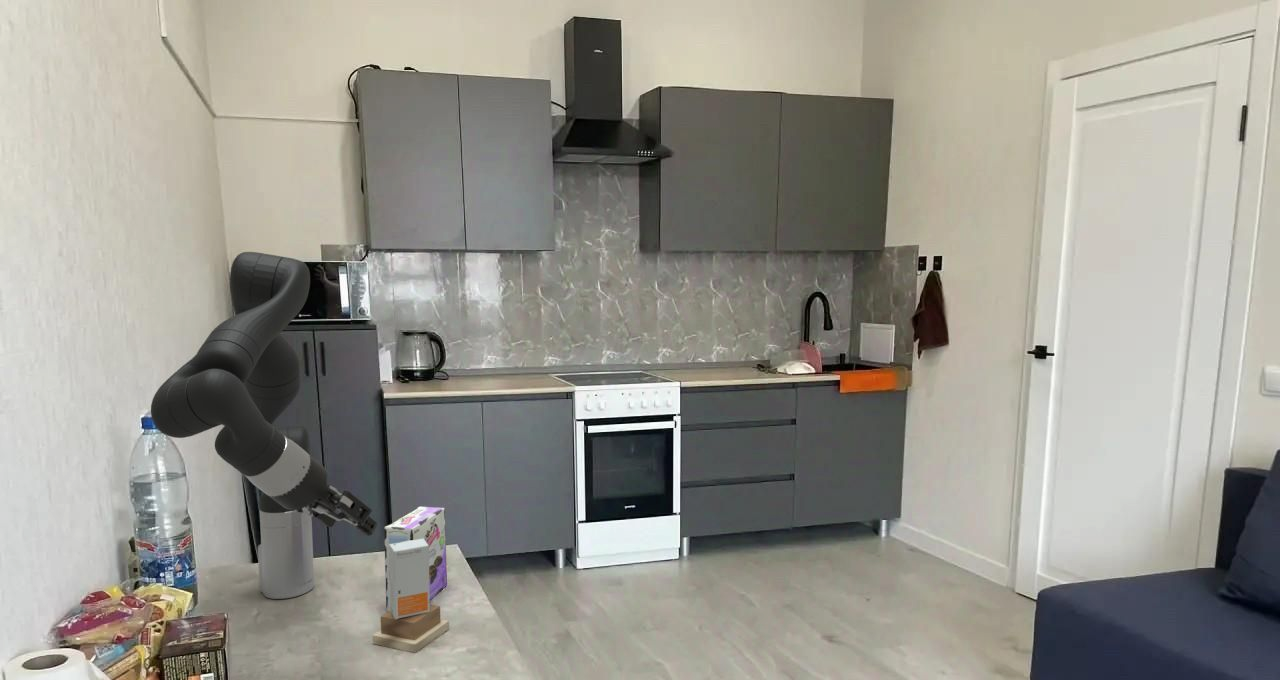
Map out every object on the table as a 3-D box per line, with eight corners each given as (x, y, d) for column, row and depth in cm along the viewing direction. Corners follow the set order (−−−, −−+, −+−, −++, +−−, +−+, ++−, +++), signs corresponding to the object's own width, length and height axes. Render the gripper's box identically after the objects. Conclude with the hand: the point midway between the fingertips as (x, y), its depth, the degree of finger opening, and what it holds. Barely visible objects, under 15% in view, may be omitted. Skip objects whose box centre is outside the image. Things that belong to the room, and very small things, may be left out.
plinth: (372, 643, 123) (371, 618, 123) (407, 620, 132) (407, 596, 131) (415, 653, 120) (414, 626, 120) (448, 629, 128) (448, 604, 128)
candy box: (414, 615, 134) (411, 528, 133) (385, 613, 135) (382, 526, 134) (448, 585, 147) (446, 506, 146) (421, 583, 148) (419, 504, 147)
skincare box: (394, 620, 122) (392, 551, 121) (390, 611, 125) (387, 543, 125) (431, 612, 125) (429, 544, 124) (425, 603, 128) (423, 537, 128)
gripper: (335, 454, 101) (398, 511, 113) (267, 444, 108) (334, 498, 119) (303, 502, 97) (373, 555, 108) (235, 488, 103) (307, 540, 115)
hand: (352, 525), depth 114 cm, fingers open, 8 cm apart
